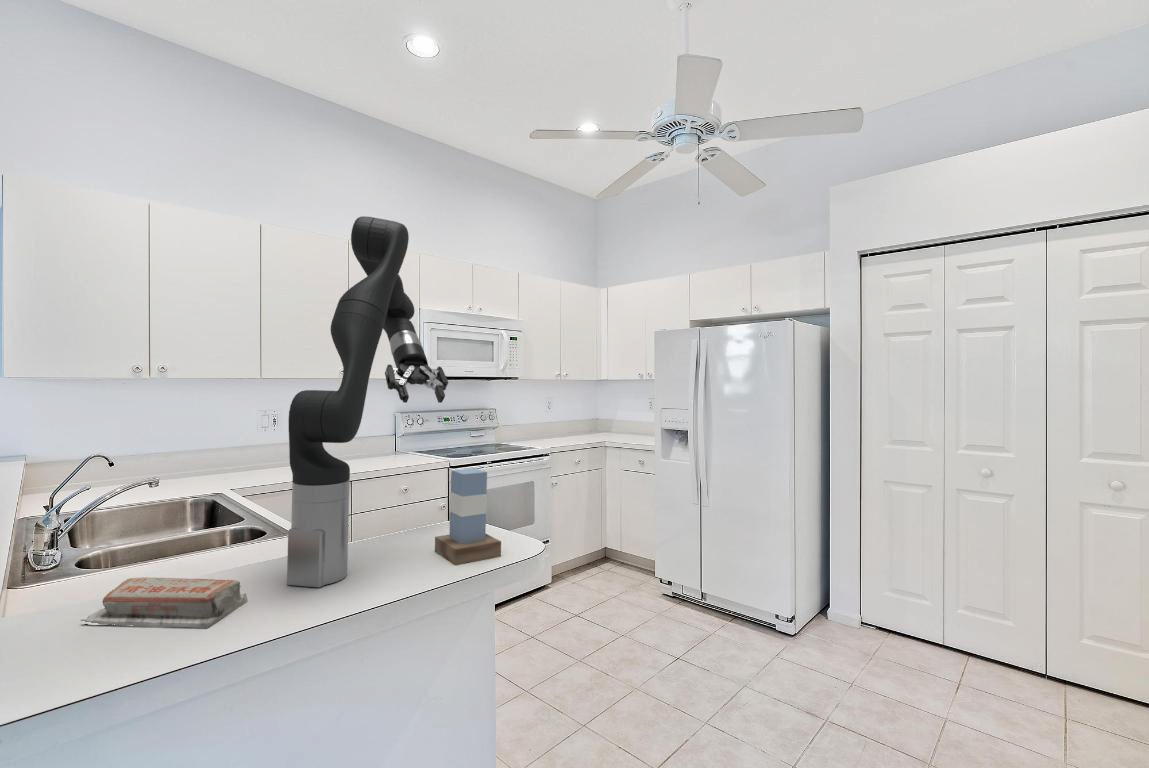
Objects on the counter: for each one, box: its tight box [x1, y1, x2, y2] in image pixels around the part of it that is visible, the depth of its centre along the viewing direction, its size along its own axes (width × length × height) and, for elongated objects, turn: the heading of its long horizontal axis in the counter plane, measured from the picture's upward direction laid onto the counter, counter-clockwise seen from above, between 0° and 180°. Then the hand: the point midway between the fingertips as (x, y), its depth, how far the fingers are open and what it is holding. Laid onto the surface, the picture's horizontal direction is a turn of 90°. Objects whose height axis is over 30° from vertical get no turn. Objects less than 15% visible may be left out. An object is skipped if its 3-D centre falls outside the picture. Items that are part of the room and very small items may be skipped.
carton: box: [448, 467, 488, 544], centre depth 112 cm, size 6×6×14 cm
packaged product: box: [80, 576, 248, 629], centre depth 81 cm, size 18×5×10 cm
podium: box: [434, 532, 502, 566], centre depth 112 cm, size 10×10×3 cm
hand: (424, 400), depth 127 cm, fingers open, 8 cm apart
